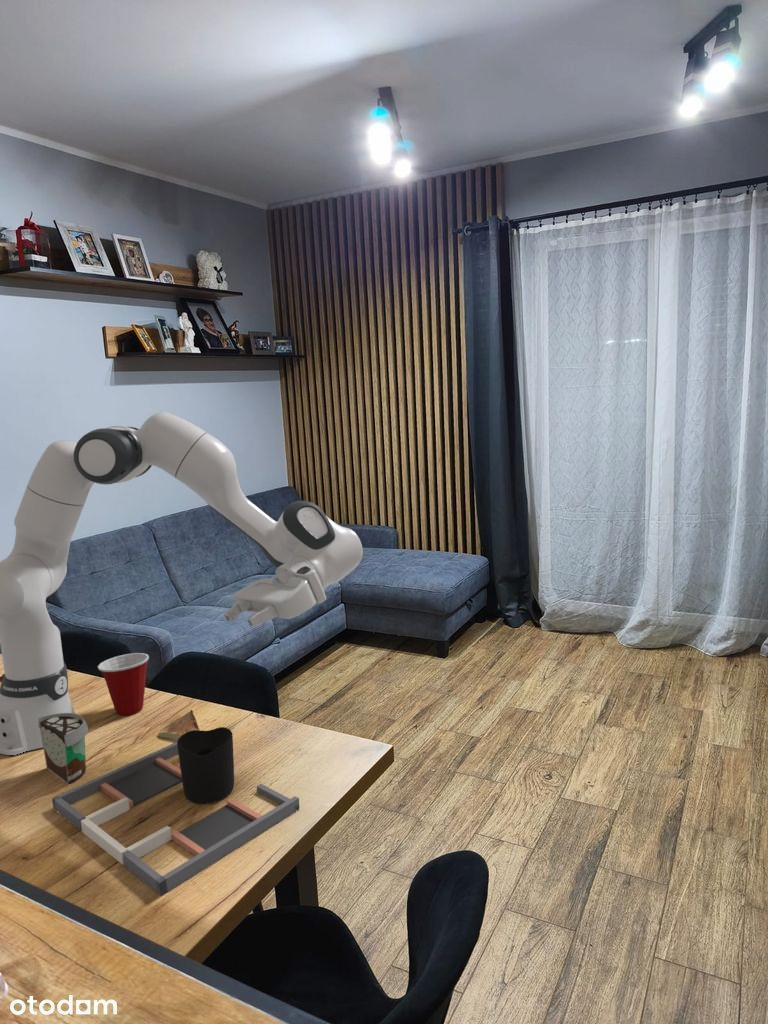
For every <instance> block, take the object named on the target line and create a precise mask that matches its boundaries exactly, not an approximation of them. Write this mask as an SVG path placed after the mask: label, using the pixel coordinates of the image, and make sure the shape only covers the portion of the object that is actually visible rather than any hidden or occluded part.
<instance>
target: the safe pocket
mask: <svg viewBox="0 0 768 1024" xmlns="http://www.w3.org/2000/svg"><path fill="white" fill-rule="evenodd" d="M128 811H130V808H129V801H128V799H127V798H126V797H125V798H123V799H121V800H119V801H116V800H115V801H114V802H113V803H111V804H109V805H107V806H104V807H103V808H100V809H98V810H96V811H94V812H92V813H90V814H88V815H85V819H83V820H81V827H82V830H81V832H82V833H83V834H84V835H85V836H86V837H87V838H88V839H90V840H91V841H93V842H94V843H95V844H96V845H98V846H99V848H101V849H102V850H104V851H105V852H106V853H107V854H109V855H110V856H111V857H113V858H114V859H115V860H116V861H117V862H118V863H120V864H121V865H122V866H125V865H124V856H123V854H125V853H126V852H128V851H130V852H132V853H133V854H134V855H136V856H137V857H138V858H139V859H141V858H142V857H143V856H146V855H147V854H149V853H151V852H153V851H155V850H156V849H159V848H160V847H162V846H164V845H165V844H166V843H168V842H170V841H173V840H172V836H171V832H172V827H170V826H168V825H166V826H164V827H162V828H160V829H159V830H157V831H155V832H153V833H152V834H151V833H150V834H149V835H147V836H146V837H144V838H142V839H140V840H138V841H136V842H135V843H133V844H131V845H129V846H128V847H125V846H124V845H123V844H121V843H120V842H119V841H118V840H116V839H115V838H114V837H112V836H111V835H110V834H108V833H107V832H106V831H104V830H103V829H102V828H100V827H99V826H100V825H103V824H105V823H107V822H109V821H110V820H112V819H114V818H116V817H118V816H120V815H123V814H124V813H127V812H128Z"/></svg>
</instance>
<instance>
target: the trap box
mask: <svg viewBox="0 0 768 1024" xmlns="http://www.w3.org/2000/svg"><path fill="white" fill-rule="evenodd" d="M177 755H179V754H178V747H177V741H176V742H173V743H172V744H169V745H166V746H165V747H163V748H160V749H157V750H155V751H154V752H151V753H149V754H147V755H145V756H142V757H140V758H137V759H135V760H134V761H131V762H129V763H127V764H124V765H122V766H120V767H118V768H116V769H114V770H111V771H109V772H107V773H105V774H103V775H101V776H97V777H96V778H94V779H91V780H89V781H87V782H85V783H82V784H80V785H77V786H76V787H73V788H72V789H70V790H67V791H64V792H62V793H61V794H58V795H55V796H54V797H52V798H51V801H52V807H53V808H54V809H55V810H54V809H53V810H54V811H55V812H57V811H58V812H59V813H60V814H61V816H62V815H63V816H64V817H65V818H66V819H65V818H64V817H63V816H62V817H63V818H64V819H65V820H67V821H68V820H69V821H70V822H71V823H70V822H69V821H68V822H69V823H70V824H72V825H73V826H74V825H75V826H76V827H75V826H74V827H75V828H77V829H78V830H79V831H80V830H81V831H82V827H81V820H83V819H85V817H86V815H84V814H83V813H81V812H80V811H79V810H78V809H76V808H75V807H74V806H72V804H74V803H76V802H78V801H81V800H83V799H84V798H86V797H89V796H91V795H94V794H95V793H97V792H100V791H102V792H103V793H104V794H106V795H107V796H109V797H110V798H112V799H113V800H114V801H115V802H116V801H119V800H121V799H123V798H125V797H126V798H127V799H128V801H129V809H131V808H132V807H135V806H136V805H138V804H141V803H143V802H145V801H146V800H148V799H150V798H153V797H155V796H157V795H159V794H161V793H163V792H164V791H167V790H168V789H170V788H173V787H175V786H176V785H179V784H181V783H182V776H181V769H180V767H178V766H176V765H174V764H173V763H171V762H169V761H167V760H169V759H170V758H172V757H175V756H177ZM256 792H257V793H259V794H261V795H263V796H265V797H266V798H268V799H270V800H271V801H274V802H276V803H278V804H279V805H278V806H276V807H275V808H272V809H271V810H270V811H267V812H266V813H264V814H263V815H262V814H260V813H258V811H255V810H253V809H252V808H249V807H248V806H246V805H244V804H243V803H241V802H239V801H238V800H235V799H234V798H232V797H231V798H229V799H227V800H226V804H225V805H224V806H222V807H220V808H218V809H217V810H215V811H214V812H211V813H210V814H208V815H206V816H204V817H202V818H201V819H199V820H196V821H195V822H194V823H192V824H190V825H187V826H186V827H185V828H183V829H181V830H179V831H178V830H176V829H173V830H171V836H172V840H171V841H173V842H175V843H176V844H178V845H179V846H180V847H181V848H183V849H185V850H186V851H187V852H189V853H190V854H192V855H193V857H191V858H190V859H188V860H187V861H184V862H183V863H182V864H180V865H178V866H177V867H175V868H173V869H171V870H170V871H168V872H166V873H165V874H164V875H161V873H159V872H157V871H156V870H155V869H154V868H152V867H151V866H150V865H149V864H147V863H146V862H145V861H143V860H142V859H141V858H138V857H137V856H136V855H134V854H133V853H132V852H130V851H128V852H126V853H125V854H123V856H124V865H123V866H124V868H126V869H127V870H128V871H129V872H130V873H133V875H134V876H136V878H138V879H139V880H141V881H142V882H143V883H144V884H145V885H147V886H148V887H150V888H151V889H152V890H153V891H154V892H156V893H157V895H159V896H163V895H165V894H167V893H169V892H170V891H171V890H173V889H174V888H176V887H178V886H179V885H180V884H182V883H185V881H187V880H189V879H190V878H192V877H194V876H195V875H197V874H198V873H200V872H202V871H203V870H204V869H207V868H208V867H210V866H211V865H213V864H214V863H216V862H217V861H219V860H221V859H222V858H224V857H226V856H227V855H229V854H231V853H232V852H234V851H235V850H236V849H238V848H240V847H242V846H243V845H245V844H246V843H248V842H249V841H251V840H253V839H255V838H256V837H258V836H259V835H261V834H262V833H264V832H265V831H267V830H269V829H271V828H272V827H274V826H275V825H277V824H279V822H281V821H283V820H285V819H286V818H288V817H289V816H291V815H293V814H294V813H296V812H297V811H299V810H300V809H299V808H301V807H300V797H298V796H295V795H294V796H292V797H291V798H289V797H288V796H285V795H284V794H282V793H280V792H278V791H275V790H274V789H272V788H270V787H268V786H266V785H264V784H263V783H260V784H258V785H256ZM298 809H299V810H298ZM296 810H297V811H296ZM295 811H296V812H295ZM58 812H57V813H58ZM293 812H294V813H293ZM59 813H58V814H59ZM292 813H293V814H292ZM60 814H59V815H60Z"/></svg>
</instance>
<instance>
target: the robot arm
mask: <svg viewBox="0 0 768 1024" xmlns="http://www.w3.org/2000/svg"><path fill="white" fill-rule="evenodd" d="M152 466H153V467H157V468H159V469H161V470H162V471H164V472H165V473H168V474H169V475H170V476H172V477H173V478H175V479H176V480H178V481H179V482H181V483H182V484H183V485H185V486H186V487H188V488H189V489H190V490H192V491H193V492H194V493H196V494H197V496H199V497H201V499H202V500H203V501H205V502H206V504H207V505H208V506H210V507H211V509H212V510H213V511H215V512H216V513H217V515H219V516H220V517H221V518H223V519H224V520H225V521H226V522H227V523H229V524H230V525H232V526H233V527H234V528H236V529H237V530H238V531H239V532H240V533H242V534H243V535H244V536H245V537H247V538H248V539H249V540H251V541H252V542H253V543H254V544H255V545H256V546H257V547H258V548H260V550H261V551H262V552H263V554H264V556H265V557H266V558H267V560H268V561H269V562H270V563H271V564H272V565H273V566H274V567H276V569H275V573H274V575H275V576H274V577H273V578H267V577H264V578H259V579H257V580H256V581H254V582H251V583H250V584H248V585H246V586H244V587H243V588H240V590H238V591H236V592H235V593H234V594H233V596H232V598H233V600H234V604H233V605H232V606H231V608H229V609H228V610H226V611H225V612H224V613H223V616H224V619H225V620H226V621H228V622H233V621H235V620H237V619H238V618H239V615H240V614H242V613H245V612H247V613H252V615H250V616H248V617H247V621H248V623H249V624H248V625H249V626H250V627H258V626H259V625H261V624H263V623H266V622H268V621H271V620H273V619H275V618H280V619H283V620H284V619H286V620H289V619H294V618H296V617H298V616H300V615H302V614H304V613H305V612H306V611H308V610H311V608H313V607H314V606H315V605H321V604H322V603H324V602H325V601H326V600H327V596H326V593H325V590H326V588H327V587H329V586H331V585H335V584H336V583H338V582H340V581H341V580H343V579H344V578H345V577H347V576H348V575H350V574H351V573H352V572H353V571H354V570H355V569H356V568H357V567H358V566H359V564H360V563H361V561H362V559H363V556H364V555H363V554H364V550H363V545H362V542H361V539H360V537H359V536H358V534H357V533H356V532H355V531H354V530H352V529H351V528H349V527H345V526H342V525H340V524H338V523H336V522H334V521H333V520H332V519H331V518H329V517H328V516H327V515H326V513H325V511H324V510H322V508H321V507H320V506H318V505H317V504H315V503H313V502H310V501H307V500H296V501H294V502H291V503H290V504H288V505H287V506H286V507H285V509H284V510H283V511H282V513H281V515H280V516H279V518H278V520H277V521H276V520H274V519H273V518H272V517H271V516H269V515H268V514H267V513H265V512H264V511H263V510H262V509H261V508H259V507H258V506H257V505H255V504H254V503H253V502H252V501H251V500H250V499H248V497H246V495H245V493H244V492H243V490H242V489H241V486H240V481H239V479H238V471H237V470H238V469H237V463H236V459H235V457H234V455H233V452H232V451H231V450H230V449H229V448H228V447H227V445H225V444H224V443H222V442H221V440H219V439H217V438H216V437H214V435H212V434H210V433H209V432H208V431H206V430H204V429H202V428H201V427H199V426H197V425H196V424H193V423H192V422H190V421H188V420H186V419H184V418H182V417H180V416H178V415H175V414H172V413H171V412H168V411H160V412H156V413H154V414H152V415H150V416H149V417H148V418H147V419H146V420H145V421H144V422H143V423H142V425H141V426H140V427H139V428H137V427H133V426H122V425H119V426H118V425H115V426H109V427H105V428H96V429H93V430H90V431H89V432H87V433H85V434H83V436H82V437H80V438H79V440H78V441H77V442H76V441H72V440H57V441H54V442H51V443H50V444H49V445H48V446H46V448H45V450H44V451H43V453H42V455H41V456H40V458H39V459H38V461H37V462H36V465H35V467H34V469H33V471H32V473H31V476H30V478H29V480H28V482H27V484H26V488H25V491H24V493H23V496H22V498H21V501H20V504H19V506H18V509H17V510H16V514H15V517H14V521H13V523H14V527H15V536H14V537H15V538H14V543H13V544H14V545H13V548H12V550H11V552H10V554H9V555H8V556H7V557H6V558H4V559H2V560H0V650H1V657H2V663H3V671H4V673H2V674H1V676H0V683H1V684H0V754H2V755H6V756H9V755H14V756H18V755H21V754H23V752H24V753H26V751H27V752H29V751H32V750H37V749H42V748H43V743H42V737H41V731H40V728H39V725H38V721H39V718H40V717H44V716H47V715H52V714H58V713H74V714H76V712H75V710H74V707H73V704H72V700H71V696H70V692H69V689H68V688H69V676H68V668H67V664H66V663H65V661H64V655H63V647H62V639H61V630H60V629H59V627H58V626H57V625H55V624H54V623H53V621H52V619H51V617H50V614H49V611H48V609H47V605H46V604H47V601H46V600H47V598H48V597H49V596H51V595H53V594H54V593H55V592H56V591H57V590H58V589H59V588H60V586H61V585H62V583H63V581H64V580H65V578H66V576H67V572H68V567H67V566H68V565H67V564H68V563H67V562H68V558H69V553H70V551H69V550H70V546H71V541H72V538H73V535H74V532H75V529H76V527H77V524H78V522H79V519H80V516H81V515H82V512H83V509H84V507H85V503H86V501H87V498H88V496H89V493H90V491H91V489H92V487H93V486H94V484H99V485H113V484H119V483H126V482H128V481H130V480H132V479H134V478H138V477H140V476H143V475H144V474H145V473H147V472H149V470H150V469H151V468H152ZM20 753H21V754H20ZM17 754H18V755H17Z"/></svg>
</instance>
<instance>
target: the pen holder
mask: <svg viewBox="0 0 768 1024" xmlns="http://www.w3.org/2000/svg"><path fill="white" fill-rule="evenodd" d="M233 737H234V735H233V732H232V730H230V729H229V728H228V727H224V726H222V727H221V726H220V727H217V728H214V729H209V730H202V729H201V730H192V731H188V732H186V733H185V734H183V735H182V736H181V737H180V738H179V739H178V740H176V742H177V747H178V754H177V755H178V761H179V768H180V769H181V776H182V782H181V783H182V789H183V793H184V794H183V795H184V797H185V799H187V800H188V801H189V802H191V803H194V804H198V805H199V804H201V805H206V804H207V805H208V804H212V803H216V802H219V801H221V800H223V799H225V798H227V797H228V796H229V795H230V794H231V792H233V790H234V787H235V766H234V765H235V764H234V763H235V762H234V760H235V759H234V740H233V739H234V738H233Z"/></svg>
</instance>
